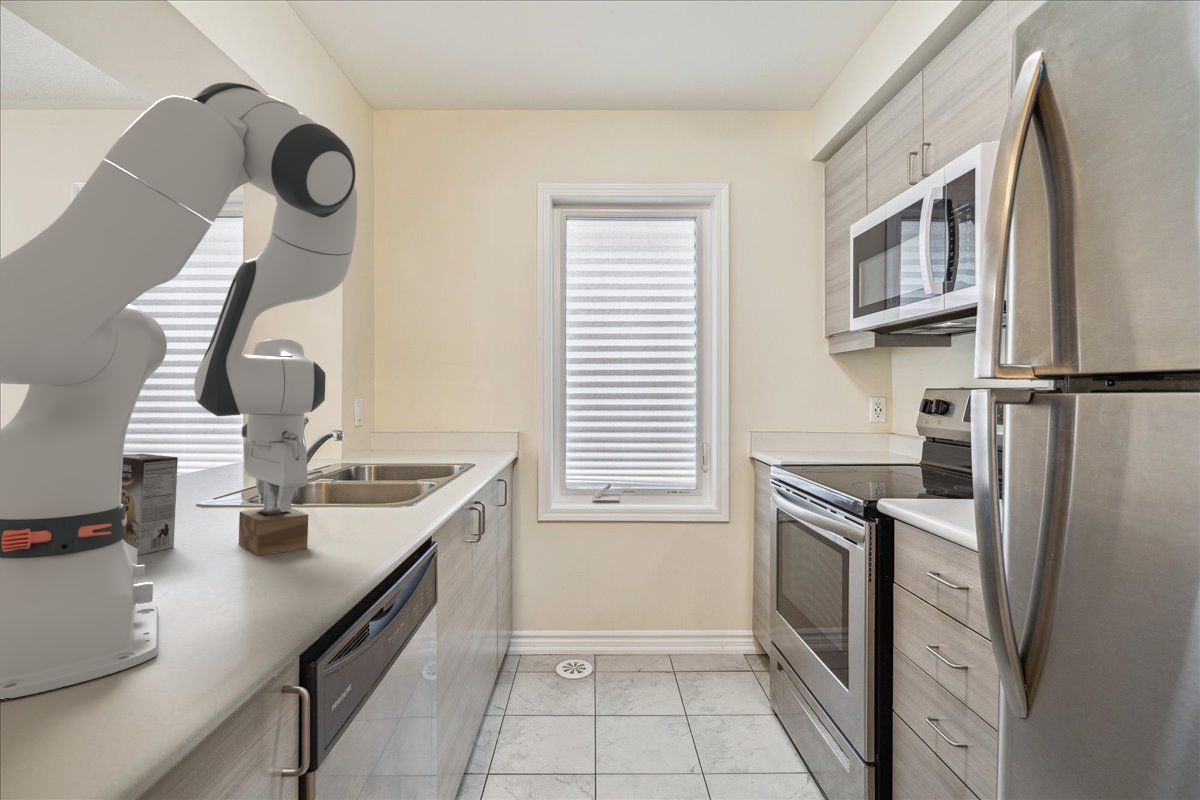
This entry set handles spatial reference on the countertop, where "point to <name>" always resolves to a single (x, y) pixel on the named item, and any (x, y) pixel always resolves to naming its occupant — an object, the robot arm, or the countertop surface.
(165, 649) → the countertop surface
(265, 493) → the steel pin
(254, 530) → the walnut block
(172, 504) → the coffee box
